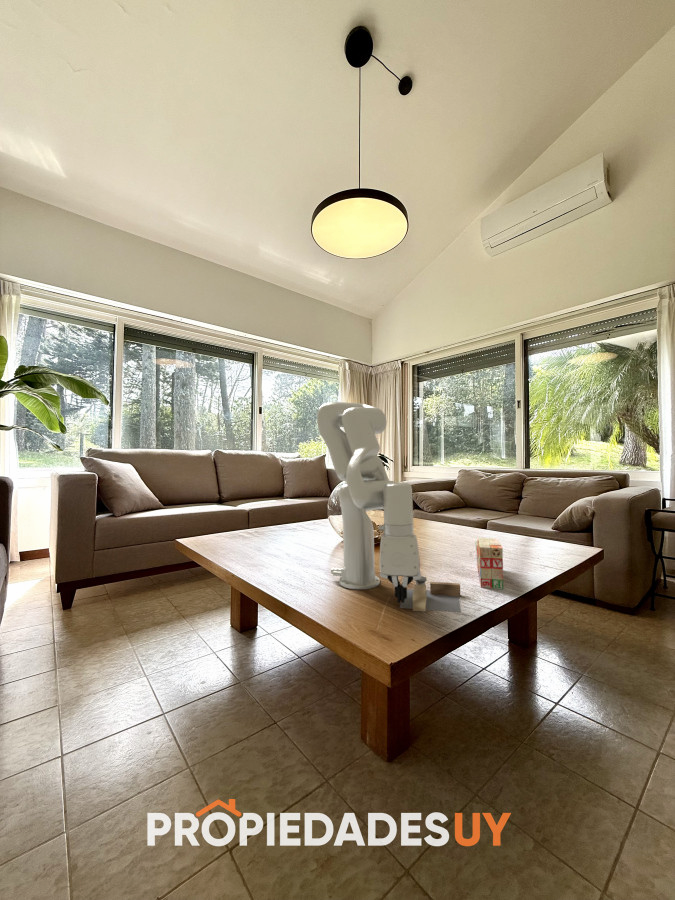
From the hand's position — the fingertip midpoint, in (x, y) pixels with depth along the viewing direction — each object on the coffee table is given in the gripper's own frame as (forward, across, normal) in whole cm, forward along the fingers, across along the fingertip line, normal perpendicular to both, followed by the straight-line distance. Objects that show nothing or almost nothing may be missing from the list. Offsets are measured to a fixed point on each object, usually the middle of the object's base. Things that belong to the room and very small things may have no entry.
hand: (401, 600), depth 98 cm
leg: (+1, +5, +2) cm, 5 cm away
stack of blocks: (+2, +24, +29) cm, 38 cm away
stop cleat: (+1, +11, +11) cm, 15 cm away
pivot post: (+1, +5, +8) cm, 9 cm away
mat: (+1, +7, +6) cm, 9 cm away
